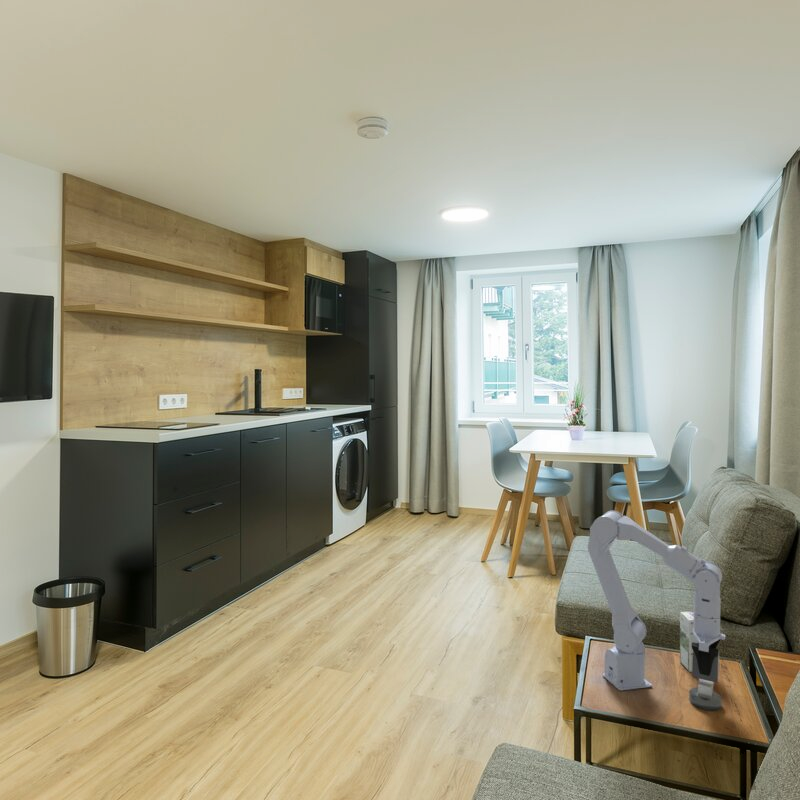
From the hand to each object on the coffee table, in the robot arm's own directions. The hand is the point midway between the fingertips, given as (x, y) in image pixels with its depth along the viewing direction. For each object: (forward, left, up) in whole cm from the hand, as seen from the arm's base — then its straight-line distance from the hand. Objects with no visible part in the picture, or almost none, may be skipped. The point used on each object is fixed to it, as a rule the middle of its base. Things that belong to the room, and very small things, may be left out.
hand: (705, 669), depth 141 cm
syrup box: (+10, +16, -9) cm, 21 cm away
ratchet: (+3, +3, -8) cm, 9 cm away
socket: (0, 0, -1) cm, 1 cm away
